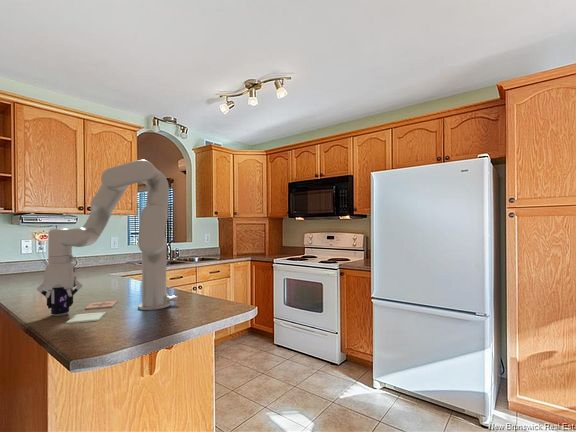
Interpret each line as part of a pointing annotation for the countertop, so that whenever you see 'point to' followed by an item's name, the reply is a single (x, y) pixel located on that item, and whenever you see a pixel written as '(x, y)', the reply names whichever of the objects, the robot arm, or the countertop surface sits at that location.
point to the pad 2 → (101, 305)
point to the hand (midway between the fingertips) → (60, 306)
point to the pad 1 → (86, 317)
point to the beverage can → (59, 300)
